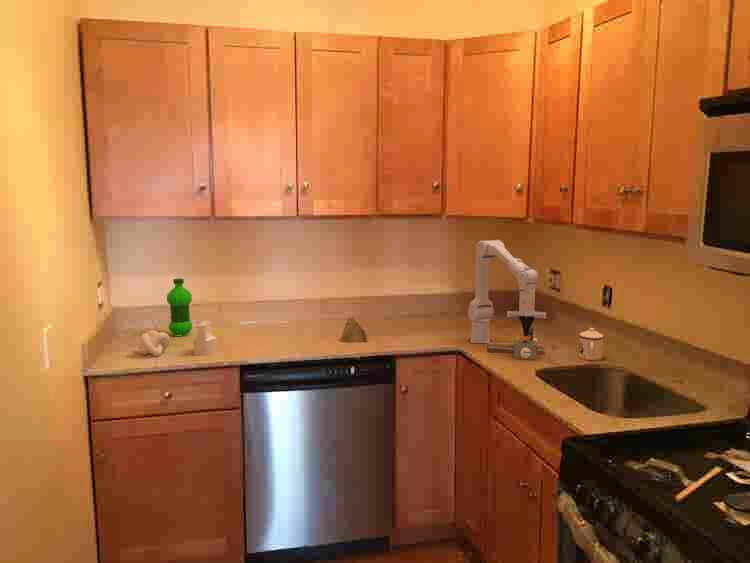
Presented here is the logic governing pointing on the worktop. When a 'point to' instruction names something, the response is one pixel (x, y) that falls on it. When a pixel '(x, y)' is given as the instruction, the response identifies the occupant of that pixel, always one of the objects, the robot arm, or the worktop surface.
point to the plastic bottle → (179, 308)
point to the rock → (353, 332)
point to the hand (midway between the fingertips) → (525, 335)
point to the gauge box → (525, 349)
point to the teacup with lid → (591, 345)
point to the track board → (510, 349)
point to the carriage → (532, 336)
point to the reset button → (525, 338)
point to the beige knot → (153, 343)
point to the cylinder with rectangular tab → (205, 340)
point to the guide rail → (506, 345)
